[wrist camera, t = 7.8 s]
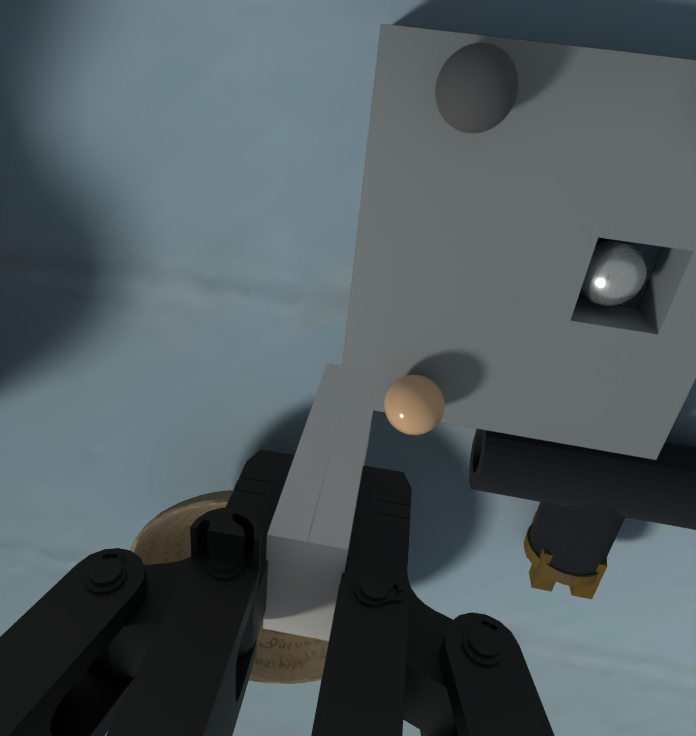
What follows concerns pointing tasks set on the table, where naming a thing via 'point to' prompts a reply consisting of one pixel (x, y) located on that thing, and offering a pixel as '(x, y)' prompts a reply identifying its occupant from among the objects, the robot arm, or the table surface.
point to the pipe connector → (582, 499)
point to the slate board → (530, 242)
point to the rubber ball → (476, 88)
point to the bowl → (274, 649)
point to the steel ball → (614, 273)
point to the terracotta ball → (414, 404)
